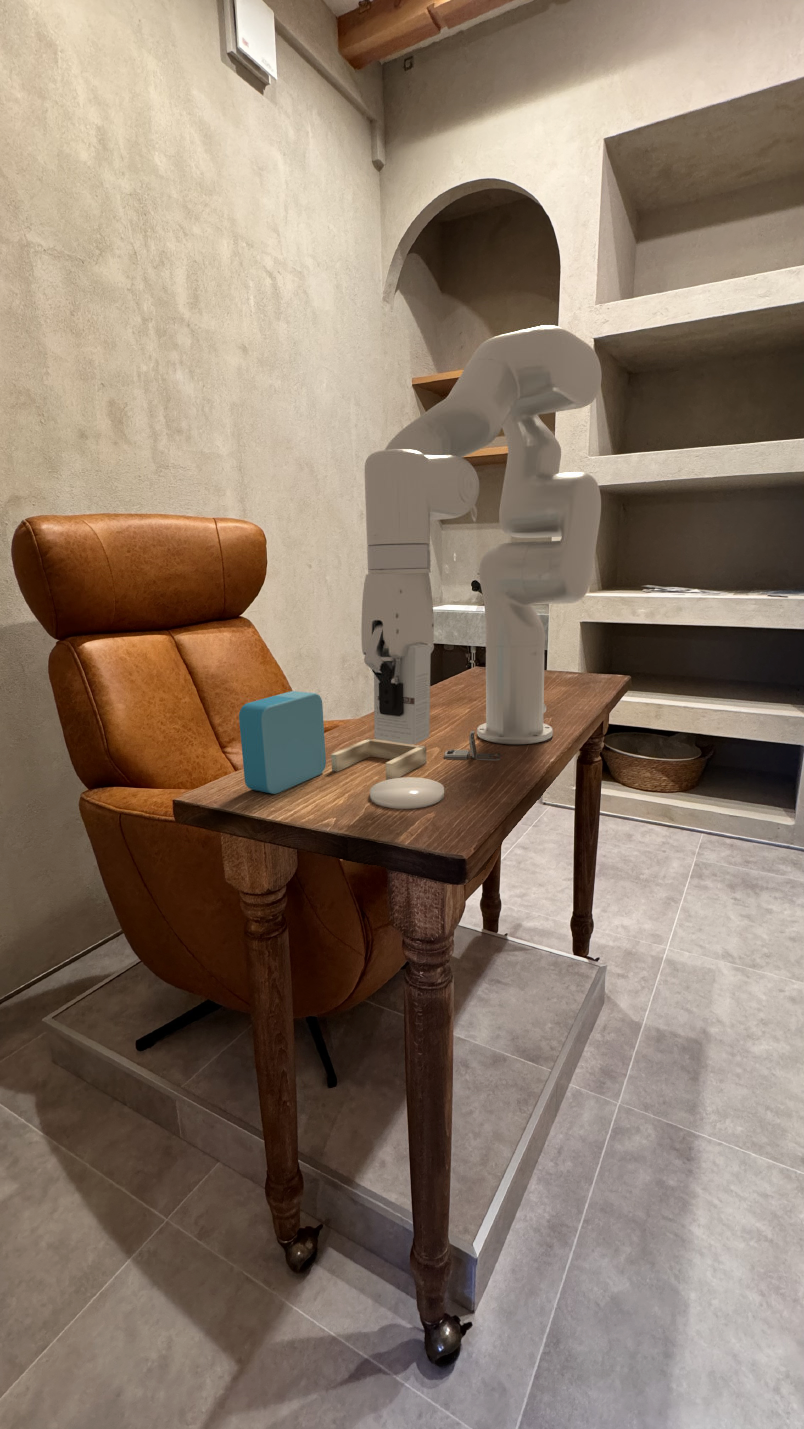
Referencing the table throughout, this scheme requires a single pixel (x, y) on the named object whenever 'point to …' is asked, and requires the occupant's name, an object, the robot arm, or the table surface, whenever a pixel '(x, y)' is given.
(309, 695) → the data package
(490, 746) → the table surface
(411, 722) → the skincare box
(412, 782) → the ceramic coaster
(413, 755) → the stand
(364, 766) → the table surface
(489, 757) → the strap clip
